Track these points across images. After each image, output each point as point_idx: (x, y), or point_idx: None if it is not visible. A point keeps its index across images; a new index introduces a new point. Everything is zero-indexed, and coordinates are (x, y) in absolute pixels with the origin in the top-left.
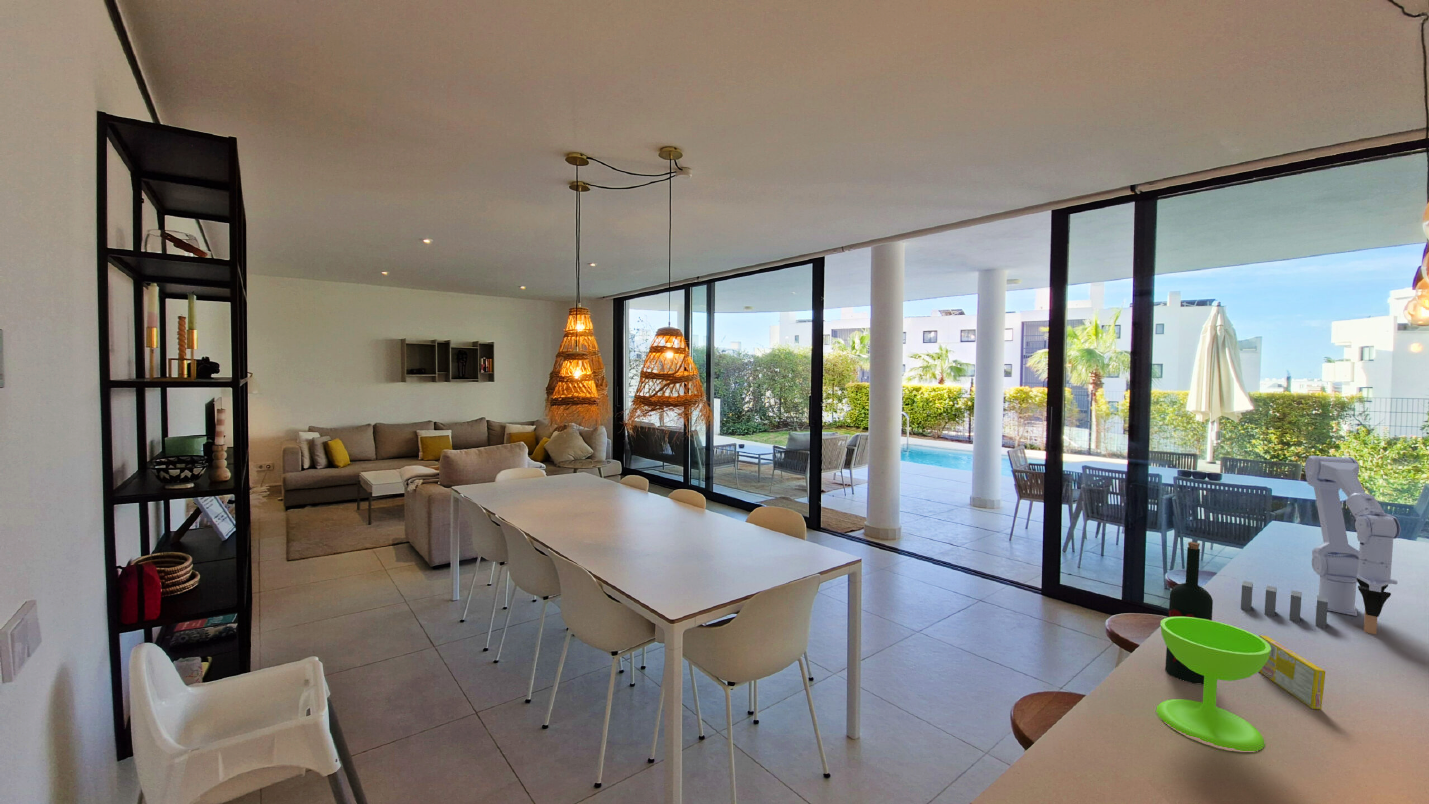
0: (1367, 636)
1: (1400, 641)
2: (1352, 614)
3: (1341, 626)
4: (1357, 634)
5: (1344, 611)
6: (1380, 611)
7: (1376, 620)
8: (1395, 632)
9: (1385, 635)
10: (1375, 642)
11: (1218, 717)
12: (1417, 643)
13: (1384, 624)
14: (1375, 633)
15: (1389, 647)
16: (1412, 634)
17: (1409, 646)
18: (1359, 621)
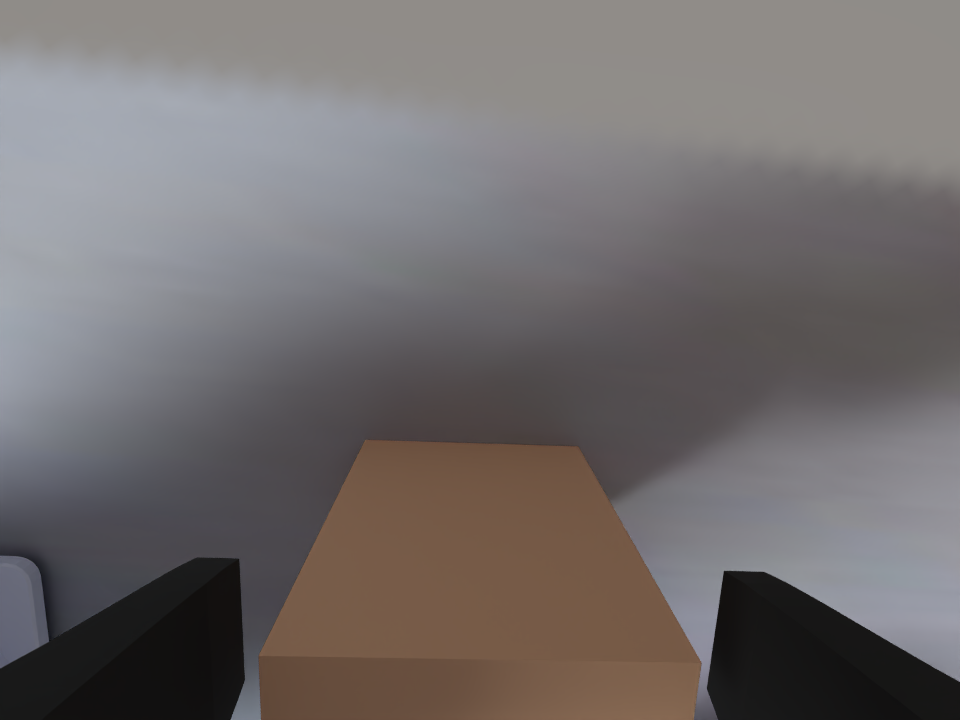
0: (711, 513)
1: (653, 277)
2: (38, 594)
3: None
4: (710, 578)
5: (7, 656)
6: (851, 624)
7: (619, 528)
8: (337, 283)
9: (542, 377)
10: (861, 471)
11: None
12: (597, 137)
13: (97, 347)
14: (578, 454)
15: (939, 383)
16: (263, 136)
17: (773, 222)
18: (209, 540)
